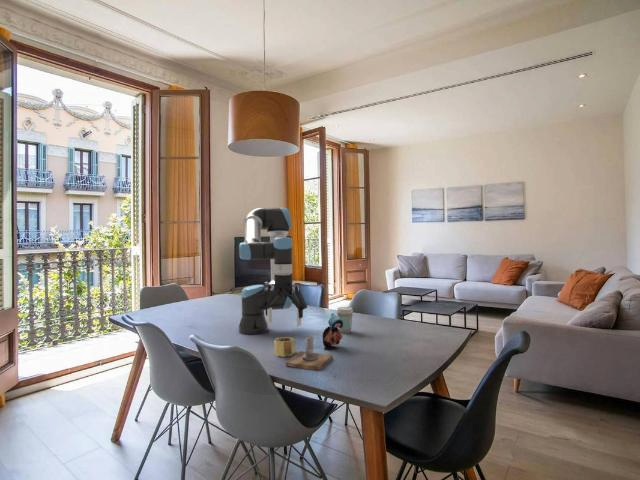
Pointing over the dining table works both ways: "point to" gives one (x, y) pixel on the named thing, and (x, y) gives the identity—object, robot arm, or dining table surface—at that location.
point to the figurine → (332, 333)
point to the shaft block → (309, 358)
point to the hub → (284, 346)
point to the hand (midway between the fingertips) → (284, 324)
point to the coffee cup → (345, 318)
